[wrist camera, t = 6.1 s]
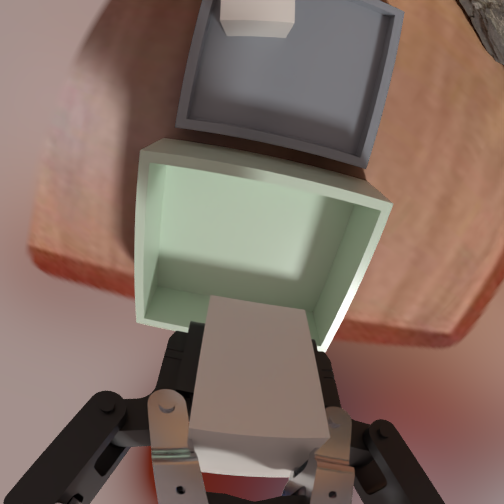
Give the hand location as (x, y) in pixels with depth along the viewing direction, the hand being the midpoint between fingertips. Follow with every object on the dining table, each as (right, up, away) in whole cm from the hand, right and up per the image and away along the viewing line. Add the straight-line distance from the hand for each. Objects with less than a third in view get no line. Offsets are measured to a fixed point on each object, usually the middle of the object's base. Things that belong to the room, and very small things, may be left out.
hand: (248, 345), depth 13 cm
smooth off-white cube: (+1, +19, +1) cm, 19 cm away
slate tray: (+3, +16, +3) cm, 16 cm away
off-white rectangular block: (0, 0, +1) cm, 1 cm away
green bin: (0, +5, +9) cm, 10 cm away
